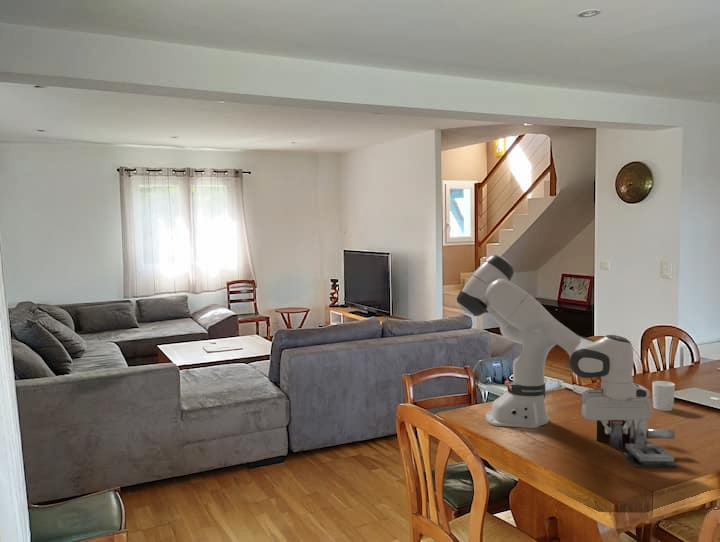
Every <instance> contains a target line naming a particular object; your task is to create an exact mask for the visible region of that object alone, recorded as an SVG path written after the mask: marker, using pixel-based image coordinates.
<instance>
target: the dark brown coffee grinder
mask: <svg viewBox="0 0 720 542" xmlns="http://www.w3.org/2000/svg"><path fill="white" fill-rule="evenodd" d="M625 423H626V422H625V421H624V420H623V423H622V427H623V426H624V425H625ZM606 424H607V423H606ZM607 426H608V427H610V420H608V424H607ZM633 426H634V422H633V420H632V424H631V425H630V427H629V428H628V434H622V445H625V444H633ZM596 442H599V443H600V442H601V443H604V444H605V443H606V444H610V434H606V433H605V427H604V425H603V424H602V422H601V420H596Z"/></svg>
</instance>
